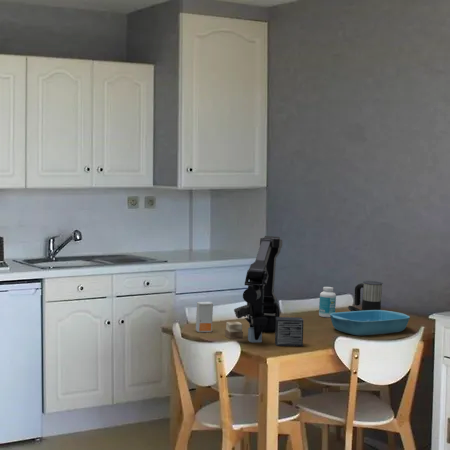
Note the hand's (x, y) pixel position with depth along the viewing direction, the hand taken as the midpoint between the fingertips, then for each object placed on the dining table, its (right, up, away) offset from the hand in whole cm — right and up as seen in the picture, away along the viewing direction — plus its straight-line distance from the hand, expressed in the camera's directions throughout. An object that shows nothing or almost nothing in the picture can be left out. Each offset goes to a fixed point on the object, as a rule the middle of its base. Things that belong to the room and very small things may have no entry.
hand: (254, 338), depth 352 cm
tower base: (-8, -1, +6) cm, 10 cm away
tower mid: (-8, +2, +5) cm, 10 cm away
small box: (+13, -2, -4) cm, 14 cm away
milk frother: (+54, +3, +69) cm, 88 cm away
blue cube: (0, -1, 0) cm, 1 cm away
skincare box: (-20, +1, +15) cm, 26 cm away
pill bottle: (+35, +2, +58) cm, 68 cm away
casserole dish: (+50, -1, +29) cm, 58 cm away
